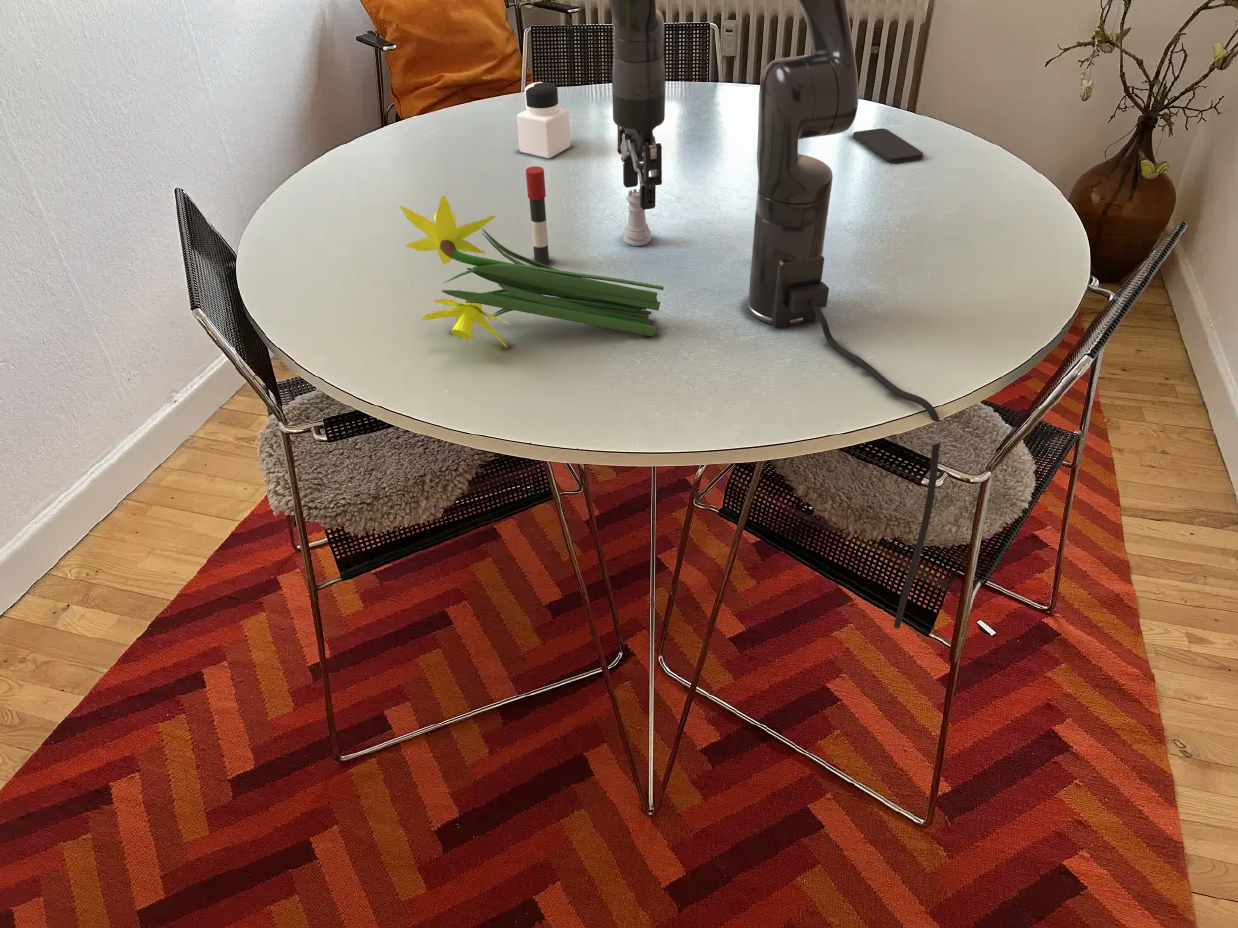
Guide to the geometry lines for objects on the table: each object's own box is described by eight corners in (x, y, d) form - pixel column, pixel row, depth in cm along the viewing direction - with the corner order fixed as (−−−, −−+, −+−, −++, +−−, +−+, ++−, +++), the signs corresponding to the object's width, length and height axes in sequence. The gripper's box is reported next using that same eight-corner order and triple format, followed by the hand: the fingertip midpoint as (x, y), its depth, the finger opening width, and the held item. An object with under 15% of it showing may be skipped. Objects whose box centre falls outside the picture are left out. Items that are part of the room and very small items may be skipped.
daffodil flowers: (657, 375, 117) (377, 324, 109) (634, 371, 131) (385, 326, 124) (681, 242, 115) (399, 182, 108) (655, 253, 129) (404, 200, 122)
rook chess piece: (657, 240, 144) (657, 191, 139) (638, 249, 142) (637, 200, 137) (636, 232, 147) (635, 184, 142) (617, 241, 144) (616, 192, 139)
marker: (552, 264, 138) (545, 171, 129) (535, 267, 138) (527, 174, 129) (548, 257, 140) (541, 165, 131) (531, 260, 140) (523, 167, 131)
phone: (885, 127, 178) (926, 154, 167) (884, 132, 179) (925, 158, 168) (850, 132, 177) (889, 159, 166) (850, 136, 177) (889, 163, 166)
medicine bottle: (571, 147, 176) (567, 82, 168) (549, 159, 171) (545, 93, 164) (541, 140, 179) (536, 77, 171) (519, 152, 174) (513, 87, 167)
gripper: (680, 101, 125) (677, 212, 136) (648, 70, 136) (647, 176, 146) (628, 108, 124) (629, 220, 134) (599, 76, 134) (602, 182, 145)
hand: (638, 197), depth 140 cm, fingers open, 8 cm apart
